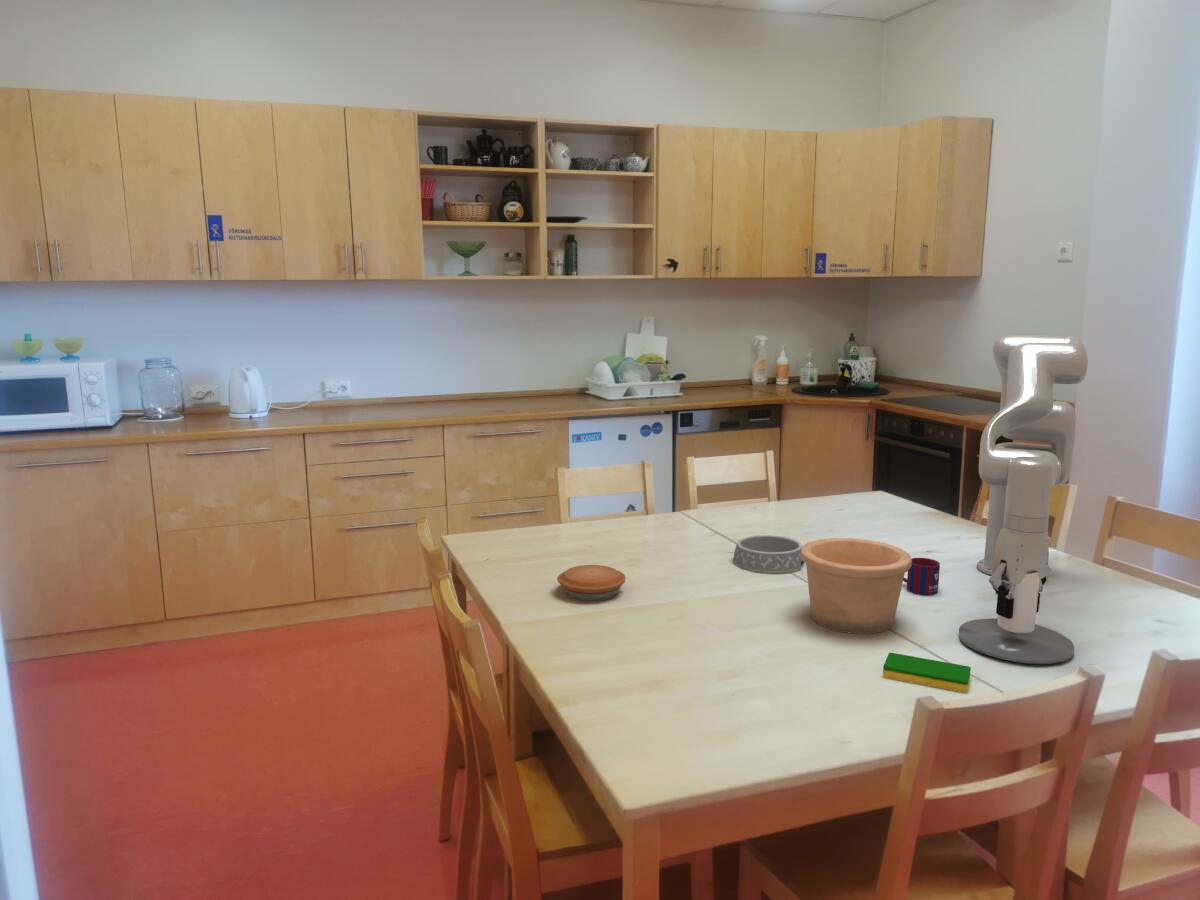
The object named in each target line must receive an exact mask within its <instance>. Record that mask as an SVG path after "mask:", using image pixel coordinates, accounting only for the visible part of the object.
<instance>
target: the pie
mask: <svg viewBox="0 0 1200 900" xmlns="http://www.w3.org/2000/svg"><path fill="white" fill-rule="evenodd" d="M556 580H557V582H558V584H560V586H561V587H562V588H563V590H564V591H565V593H566V594H567V595H568V596H569V597H571V598H573V599H575V600H579V601H585V602H586V601H587V602H596V601H603V600H604V601H605V600H608V599H611V598H614V597H615V596H616V595H617V593H618V592H619V590H620V589H621V587H622V586H623V584H625V582H626V575H625V573H623V572H621V571H620V570H617V569H616V568H613V567H611V566H606V565H602V564H601V565H599V564H585V565H578V566H573V567H570V568H568V569H566V570H565V571H563V572H562V573H560V574H559V575H557V577H556Z"/></svg>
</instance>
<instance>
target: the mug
mask: <svg viewBox="0 0 1200 900" xmlns="http://www.w3.org/2000/svg"><path fill="white" fill-rule="evenodd" d="M911 559H912V566H911V568H910V569H909V570H908V571H907V575H906V576H907V578H905V577H904V578H903V582H904V583H906V590H907V592H910V593H911V592H912V593H911V594H914V595H918V594H919V596H935V595H937V594H938V592H939V582H940V581H939V580H940V568H941V563H940V562H939V561H938V560H936V559H933V558H928V557H911ZM934 594H935V595H934Z"/></svg>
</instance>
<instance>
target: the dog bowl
mask: <svg viewBox="0 0 1200 900" xmlns="http://www.w3.org/2000/svg"><path fill="white" fill-rule="evenodd" d="M802 546H803V544H802V543H801V542H800V541H798V540H796V539H794V538H791V537H786V536H780V535H773V534H762V535H761V534H760V535H759V534H757V535H749V536H746V537H743V538H740V539H739V540H738V541H737V542H736V546H735V549H734V553H733V561H732V564H733V565H734V566H735V567H737V568H740V569H741V570H743V571H747V572H751V573H755V574H761V575H776V576H778V575H788V574H793V573H794V574H795V573H798V571H799V572H801V567H802V562H803V561H802V560H801V547H802Z"/></svg>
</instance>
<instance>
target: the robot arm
mask: <svg viewBox="0 0 1200 900" xmlns="http://www.w3.org/2000/svg"><path fill="white" fill-rule="evenodd" d="M1086 350H1087V349H1086V347H1085V345H1084V344H1083V342H1082V340H1081V339H1080V338H1079V337H1077V336H1075V335H1050V334H1049V335H1048V334H1047V335H1045V334H1043V335H1042V334H1005V335H1003V336H1000V337H998V338H996V339H995V341H994V343H993V346H992V354H993V360H994V363H995V366H996V367H997V370H998V372H999V375H1000V379H1001V380H1000V381H1001V394H1000V403H999V404H1000V405H999V411H997V413H995V414H994V415H993V416H992V418H990V420H989V421H988V422H987V424H986V425H985V427H984V429H983V431H982V434H981V437H980V442H979V443H980V444H979V456H978V475H979V478H980V479H981V481H982V483H985V484H986V485H989V493H988V494H989V496H988V497H989V498H988V512H987V522H986V534H985V546H984V559H980V560H978V561H977V562H976V568H977V570H979V572H982V573H984V574H986V575H990V577H989V579H988V582H989V584H990V585H991V587H992V589H993V590H994V592H995V595H997V598H996V608H995V609H996V612H995V614H996V615H997V616H998V615H1000V616H1003V617H1005V618H1008V619H1011V618H1012V617H1013V606H1014V599H1013V598H1011V597H1012V595H1013V593H1014V590H1015V586H1016V584H1020V583H1021V581H1022V579H1023V578H1024V577H1025V576H1026V573H1034V572H1036V571H1038V572H1037V574H1038V576H1039V590H1038V601H1037V611H1036V614H1037V613H1039V610H1040V602H1041V601H1040V600H1041V593H1042V592H1043V590H1044V585H1045V584H1046V582H1047V581H1048V580H1047V579H1048V577H1049V576H1050V574H1051V573H1052V568H1051V566H1050V565H1049V555H1050V553H1049V552H1050V551H1049V546H1050V545H1049V544H1050V543H1049V530H1048V529H1049V519H1050V511H1051V510H1050V507H1051V499H1052V497H1051V496H1052V489H1053V487H1054V486H1055V487H1056V486H1062V485H1065V484H1066V482H1068V481H1069V477H1070V475H1071V469H1072V463H1073V455H1074V446H1075V440H1076V439H1075V437H1076V430H1077V413H1076V410H1075V408H1074V407H1073V406H1072V404H1070V403H1068V402H1065V401H1059V400H1057V401H1056V400H1054V385H1078V384H1081V383H1082V382H1083V381H1084V379H1085V377H1086V376H1087V372H1088V364H1089V363H1088V362H1089V361H1088V352H1087V351H1086ZM1001 436H1002V437H1004V438H1005V439H1007V440H1015V441H1022V442H1013V441H1011V442H1001V443H996V441H997V440H998V439H999V438H1000V437H1001ZM1023 441H1024V442H1023ZM1028 442H1029V443H1028ZM1031 442H1040V443H1031ZM1043 443H1049V444H1043ZM1005 576H1007V577H1009V581H1007V580H1005ZM1005 583H1006V584H1009V587H1008V590H1007V589H1006V588H1005V587H1004V586H1005Z"/></svg>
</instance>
